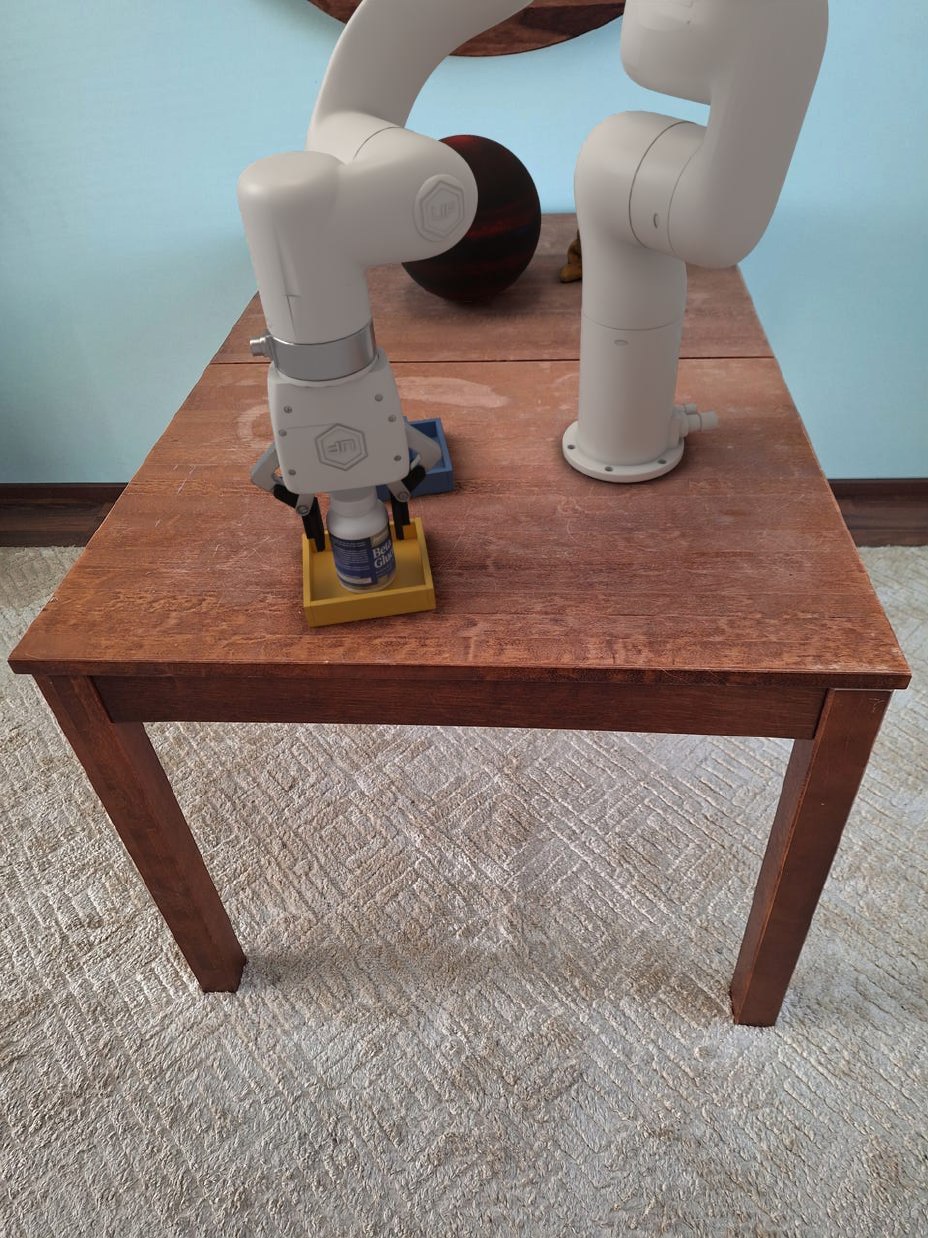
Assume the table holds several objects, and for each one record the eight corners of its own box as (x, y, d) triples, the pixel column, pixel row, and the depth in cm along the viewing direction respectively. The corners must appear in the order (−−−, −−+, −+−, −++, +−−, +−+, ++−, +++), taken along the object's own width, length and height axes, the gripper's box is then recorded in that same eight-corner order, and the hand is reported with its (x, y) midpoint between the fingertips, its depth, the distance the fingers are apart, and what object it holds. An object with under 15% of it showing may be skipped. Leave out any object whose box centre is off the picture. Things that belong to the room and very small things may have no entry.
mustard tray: (423, 537, 83) (420, 516, 81) (436, 608, 76) (433, 588, 74) (307, 553, 83) (302, 533, 81) (309, 627, 75) (303, 607, 74)
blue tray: (442, 436, 96) (440, 417, 94) (454, 490, 88) (452, 470, 87) (341, 450, 95) (337, 430, 93) (345, 505, 88) (341, 485, 86)
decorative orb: (383, 326, 116) (361, 165, 102) (415, 265, 130) (400, 115, 116) (532, 329, 112) (530, 163, 98) (548, 266, 126) (549, 112, 112)
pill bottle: (388, 598, 77) (373, 510, 70) (331, 593, 78) (310, 506, 71) (403, 559, 80) (390, 472, 73) (348, 554, 81) (330, 468, 74)
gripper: (201, 385, 60) (260, 578, 72) (448, 353, 61) (464, 549, 73) (208, 336, 65) (262, 524, 78) (435, 307, 66) (452, 497, 79)
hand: (360, 534), depth 76 cm, fingers open, 6 cm apart
